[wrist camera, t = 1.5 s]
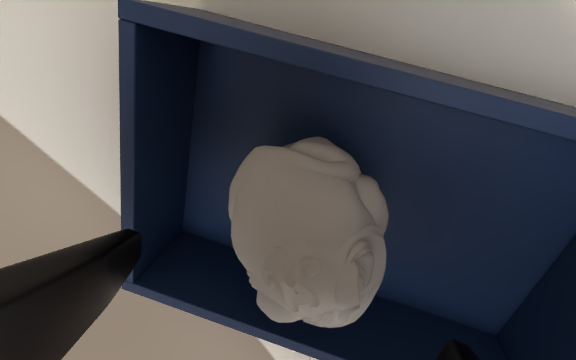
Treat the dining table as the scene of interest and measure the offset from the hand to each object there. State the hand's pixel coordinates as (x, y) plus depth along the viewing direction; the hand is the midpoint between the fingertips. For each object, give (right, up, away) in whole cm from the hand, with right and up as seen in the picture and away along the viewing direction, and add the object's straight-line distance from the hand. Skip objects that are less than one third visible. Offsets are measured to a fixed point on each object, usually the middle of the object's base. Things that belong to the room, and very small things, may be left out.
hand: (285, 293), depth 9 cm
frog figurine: (+2, +3, +7) cm, 8 cm away
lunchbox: (+4, +3, +7) cm, 8 cm away
